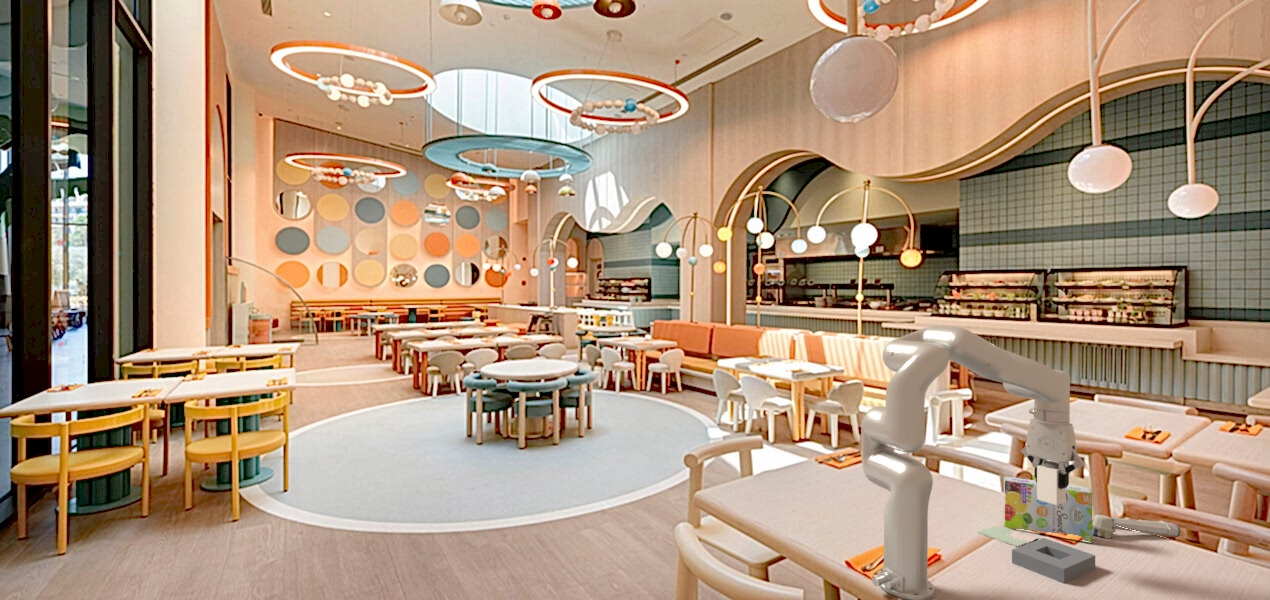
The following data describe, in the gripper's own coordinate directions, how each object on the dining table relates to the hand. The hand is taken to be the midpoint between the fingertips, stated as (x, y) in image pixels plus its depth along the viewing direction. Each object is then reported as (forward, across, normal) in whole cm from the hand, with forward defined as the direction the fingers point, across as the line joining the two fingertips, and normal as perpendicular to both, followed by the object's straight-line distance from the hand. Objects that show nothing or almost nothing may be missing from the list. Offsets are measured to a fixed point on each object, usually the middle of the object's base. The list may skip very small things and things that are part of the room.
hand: (1051, 484), depth 147 cm
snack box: (+22, -12, +22) cm, 33 cm away
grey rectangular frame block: (+21, +1, 0) cm, 21 cm away
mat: (+21, -15, +8) cm, 28 cm away
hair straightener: (+22, +2, +43) cm, 48 cm away
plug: (+4, 0, 0) cm, 4 cm away
